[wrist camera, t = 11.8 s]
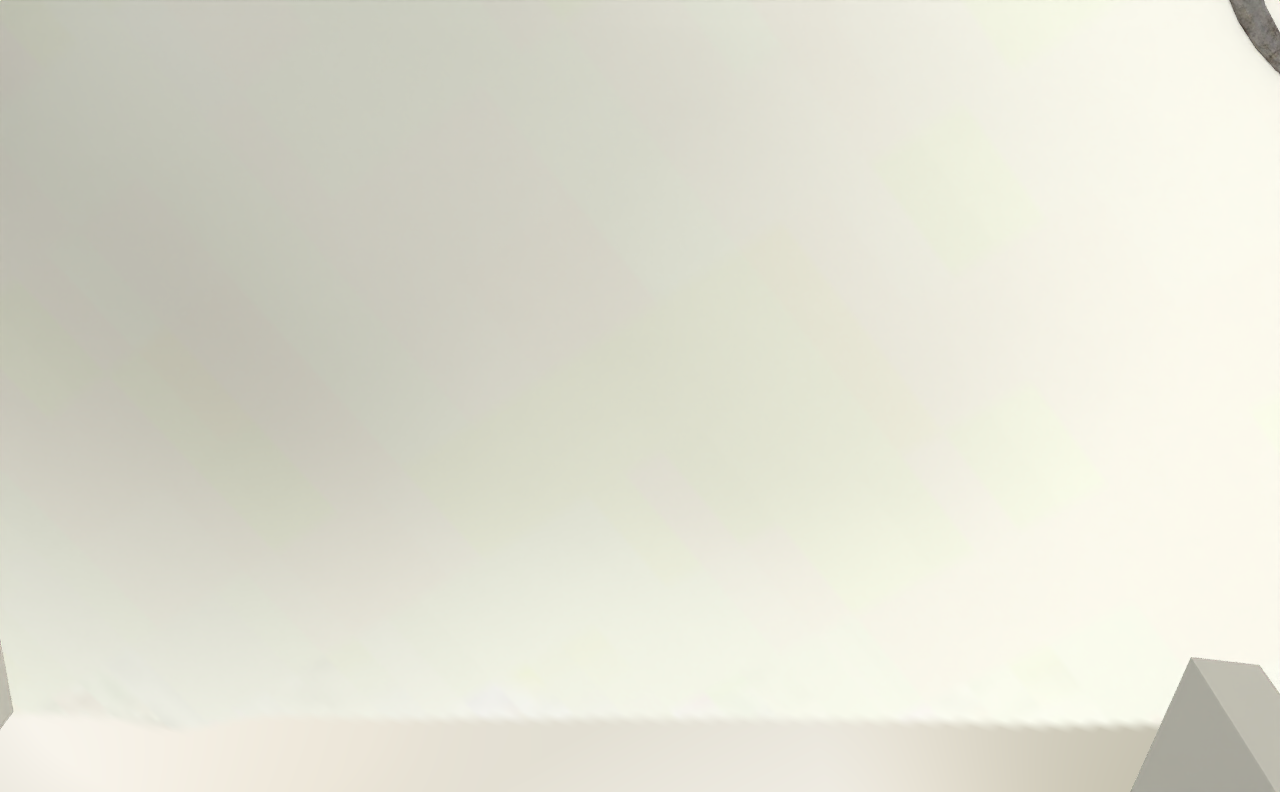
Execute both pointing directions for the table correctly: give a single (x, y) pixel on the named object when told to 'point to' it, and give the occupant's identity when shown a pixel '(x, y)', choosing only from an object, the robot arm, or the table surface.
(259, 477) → the table surface
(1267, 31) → the pliers
